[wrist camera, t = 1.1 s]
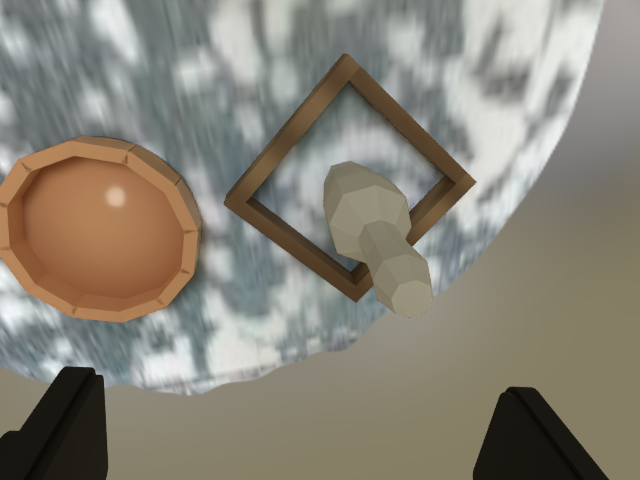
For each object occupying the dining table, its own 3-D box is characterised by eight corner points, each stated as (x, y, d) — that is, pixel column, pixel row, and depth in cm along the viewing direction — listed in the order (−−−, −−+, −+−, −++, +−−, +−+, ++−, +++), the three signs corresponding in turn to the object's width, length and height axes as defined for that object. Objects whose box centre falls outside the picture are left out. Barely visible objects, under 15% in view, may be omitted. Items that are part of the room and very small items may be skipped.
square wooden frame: (342, 54, 39) (348, 54, 36) (464, 173, 44) (476, 182, 42) (226, 194, 43) (223, 204, 40) (351, 288, 48) (356, 302, 46)
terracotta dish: (75, 95, 38) (57, 99, 35) (236, 214, 44) (234, 227, 40) (-20, 237, 42) (-44, 252, 39) (139, 329, 48) (129, 349, 45)
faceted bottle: (313, 213, 44) (348, 348, 24) (317, 150, 42) (360, 243, 22) (375, 215, 45) (457, 348, 25) (382, 153, 43) (481, 246, 23)
